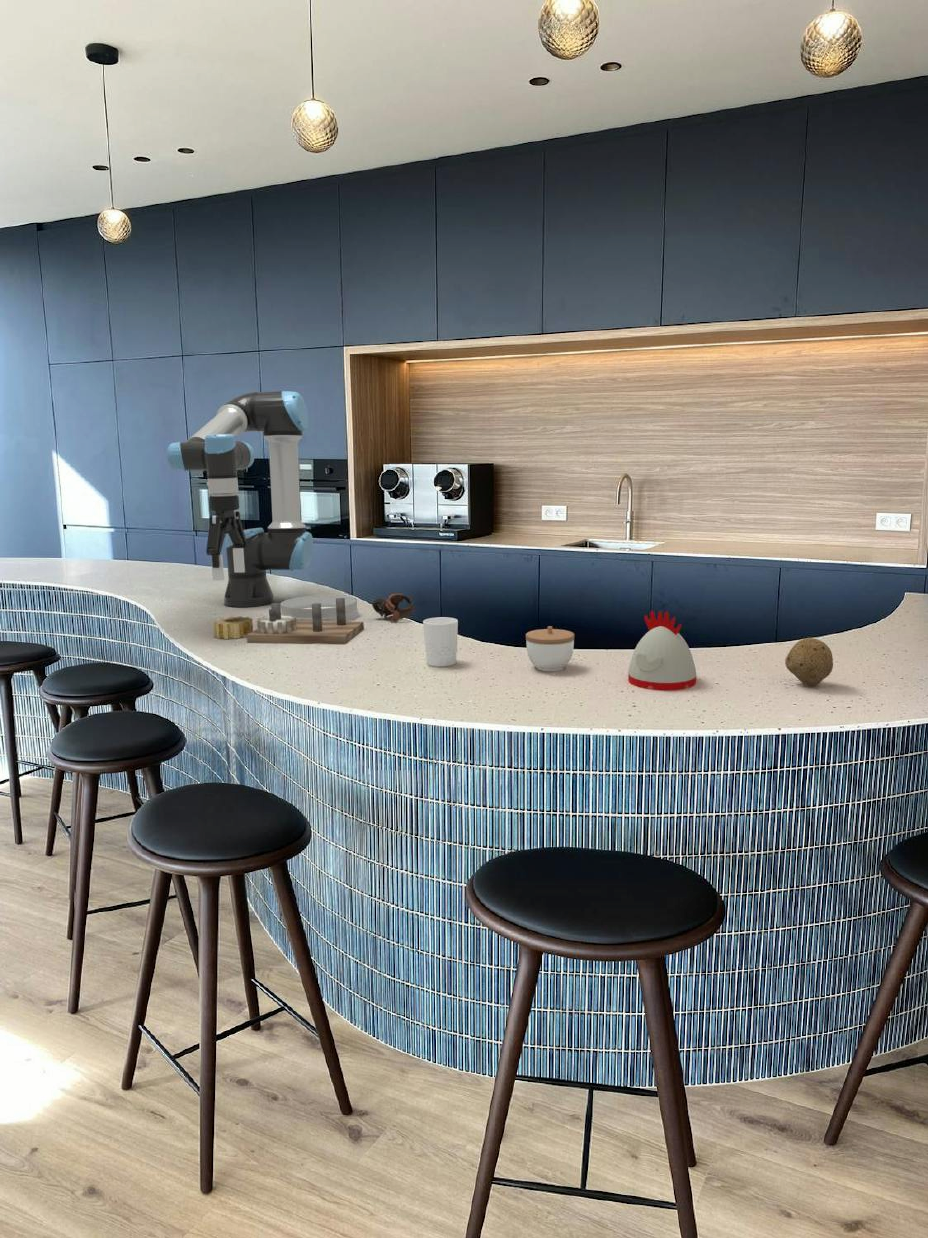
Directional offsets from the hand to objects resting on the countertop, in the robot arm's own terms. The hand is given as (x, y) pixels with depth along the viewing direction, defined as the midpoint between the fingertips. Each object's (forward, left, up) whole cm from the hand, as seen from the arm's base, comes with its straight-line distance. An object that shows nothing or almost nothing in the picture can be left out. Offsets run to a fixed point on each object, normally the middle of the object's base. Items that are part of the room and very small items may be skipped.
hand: (229, 576), depth 242 cm
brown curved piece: (-24, +38, -16) cm, 48 cm away
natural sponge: (+37, +139, -16) cm, 145 cm away
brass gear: (0, 0, -16) cm, 16 cm away
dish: (-24, +16, -16) cm, 33 cm away
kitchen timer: (+36, +110, -16) cm, 117 cm away
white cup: (+25, +61, -16) cm, 68 cm away
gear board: (-1, +20, -16) cm, 26 cm away
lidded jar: (+27, +86, -16) cm, 92 cm away
